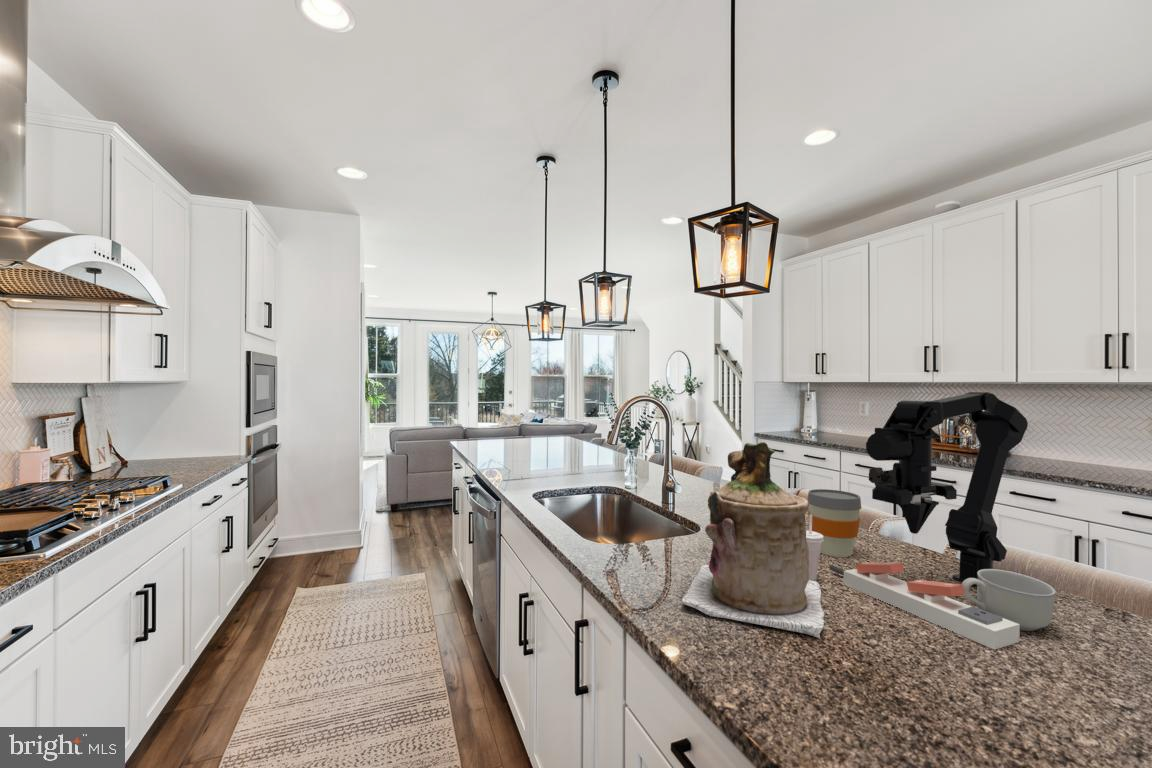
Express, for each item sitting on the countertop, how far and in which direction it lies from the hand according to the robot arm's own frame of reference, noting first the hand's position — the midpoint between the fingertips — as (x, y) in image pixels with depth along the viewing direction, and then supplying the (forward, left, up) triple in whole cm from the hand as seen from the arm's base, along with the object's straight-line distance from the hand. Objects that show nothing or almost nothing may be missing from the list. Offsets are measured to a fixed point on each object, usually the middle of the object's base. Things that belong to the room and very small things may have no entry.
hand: (914, 533), depth 104 cm
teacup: (-1, +16, -12) cm, 20 cm away
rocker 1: (+8, -2, -7) cm, 11 cm away
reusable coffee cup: (-5, -24, -12) cm, 27 cm away
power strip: (+8, +4, -12) cm, 15 cm away
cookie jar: (+36, -8, -12) cm, 39 cm away
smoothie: (+16, -13, -12) cm, 24 cm away
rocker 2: (+8, +10, -7) cm, 14 cm away
